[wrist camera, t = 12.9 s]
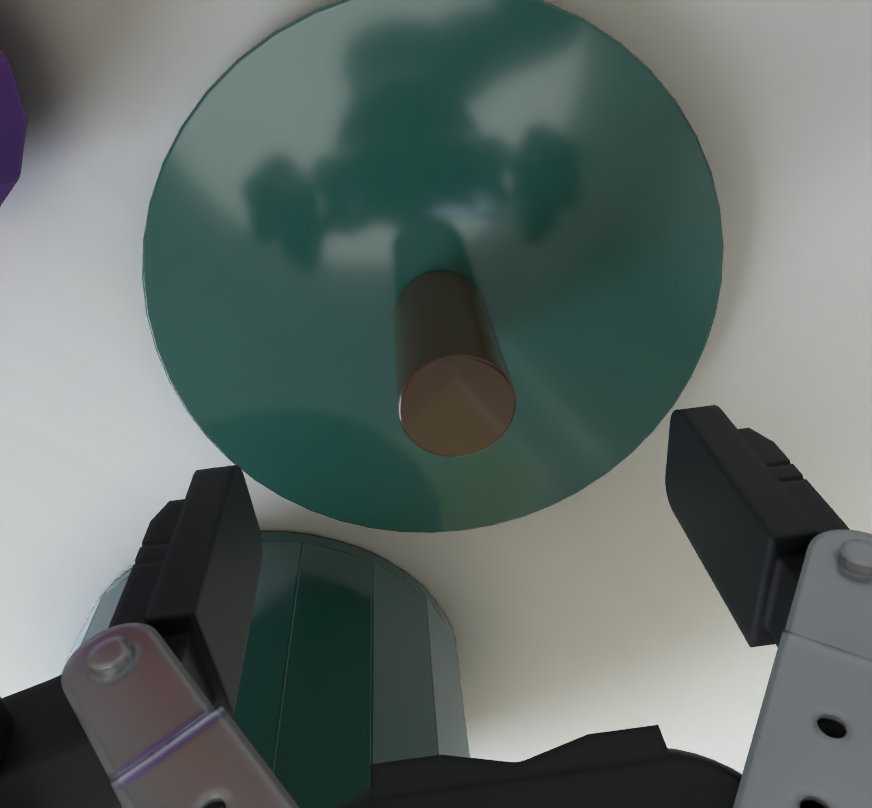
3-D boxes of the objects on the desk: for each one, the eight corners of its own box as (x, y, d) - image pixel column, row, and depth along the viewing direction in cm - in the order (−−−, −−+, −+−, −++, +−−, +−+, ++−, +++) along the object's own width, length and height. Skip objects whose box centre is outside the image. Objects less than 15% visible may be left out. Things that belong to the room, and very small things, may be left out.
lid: (738, -55, 17) (906, -69, 11) (683, 480, 25) (766, 616, 20) (65, 24, 17) (-82, 48, 11) (233, 536, 25) (194, 689, 19)
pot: (438, 504, 25) (474, 807, 16) (470, 757, 32) (506, 1057, 23) (17, 556, 25) (-191, 892, 16) (149, 798, 32) (62, 1116, 23)
